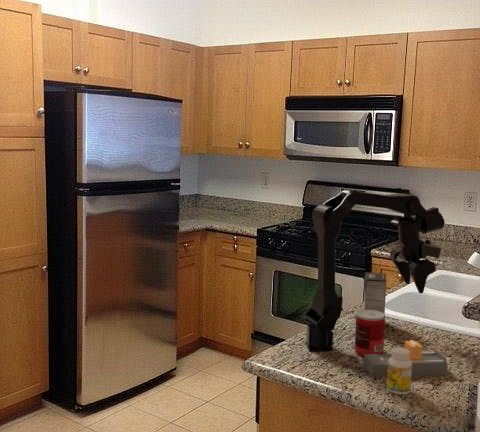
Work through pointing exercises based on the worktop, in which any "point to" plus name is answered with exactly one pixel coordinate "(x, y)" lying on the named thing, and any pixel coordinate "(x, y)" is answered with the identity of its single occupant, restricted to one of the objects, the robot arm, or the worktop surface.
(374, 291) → the coffee box
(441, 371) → the switch base
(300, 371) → the worktop surface
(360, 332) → the canned food
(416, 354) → the switch slider
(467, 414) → the worktop surface
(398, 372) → the supplement bottle
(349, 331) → the worktop surface
